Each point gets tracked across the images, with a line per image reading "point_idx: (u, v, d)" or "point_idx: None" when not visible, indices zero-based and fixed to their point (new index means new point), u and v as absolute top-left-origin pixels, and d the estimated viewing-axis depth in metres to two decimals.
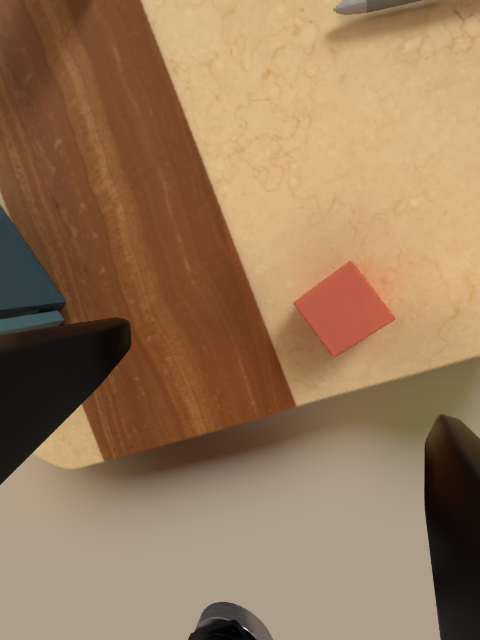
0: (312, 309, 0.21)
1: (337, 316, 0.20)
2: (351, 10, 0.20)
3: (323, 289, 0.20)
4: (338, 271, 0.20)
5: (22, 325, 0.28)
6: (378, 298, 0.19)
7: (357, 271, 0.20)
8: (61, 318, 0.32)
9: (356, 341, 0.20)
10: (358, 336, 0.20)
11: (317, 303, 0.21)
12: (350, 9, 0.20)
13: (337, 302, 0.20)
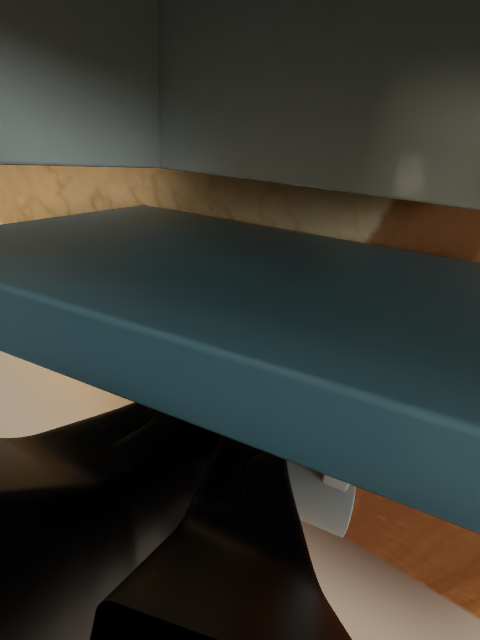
0: None
1: None
2: None
3: None
4: None
5: None
6: None
7: None
8: None
9: None
10: None
11: None
12: None
13: None
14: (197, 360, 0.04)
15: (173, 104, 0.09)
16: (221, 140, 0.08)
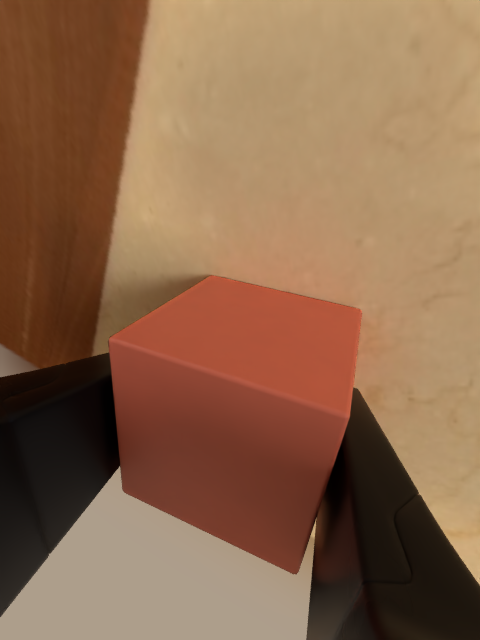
0: (144, 396, 0.06)
1: (187, 460, 0.06)
2: None
3: (205, 392, 0.06)
4: (285, 401, 0.05)
5: None
6: (307, 530, 0.06)
7: (331, 451, 0.05)
8: None
9: (185, 519, 0.07)
10: (196, 520, 0.07)
11: (165, 400, 0.06)
12: None
13: (211, 445, 0.06)
14: None
15: None
16: None
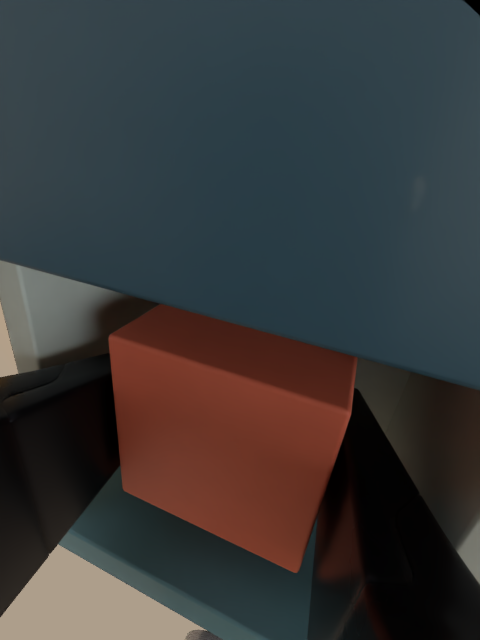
0: (144, 393, 0.06)
1: (187, 459, 0.06)
2: None
3: (206, 390, 0.06)
4: (286, 398, 0.05)
5: None
6: (308, 528, 0.06)
7: (333, 449, 0.05)
8: None
9: (185, 518, 0.07)
10: (196, 518, 0.07)
11: (165, 398, 0.06)
12: None
13: (210, 442, 0.06)
14: (205, 611, 0.08)
15: None
16: None
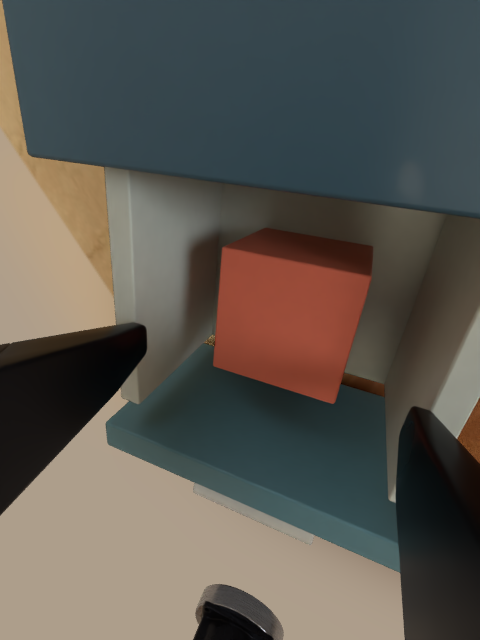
0: (241, 285, 0.10)
1: (266, 328, 0.10)
2: None
3: (285, 276, 0.09)
4: (334, 273, 0.09)
5: None
6: (343, 364, 0.10)
7: (360, 302, 0.09)
8: None
9: (259, 378, 0.11)
10: (266, 376, 0.11)
11: (256, 285, 0.10)
12: None
13: (284, 313, 0.10)
14: (251, 488, 0.11)
15: None
16: None
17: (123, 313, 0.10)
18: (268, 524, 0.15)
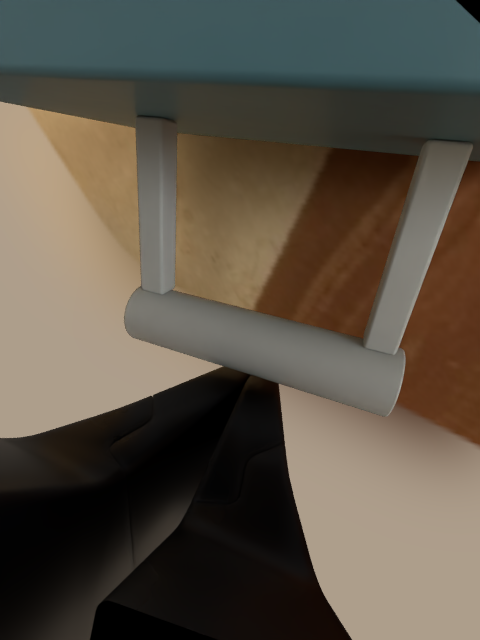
0: None
1: None
2: None
3: None
4: None
5: None
6: None
7: None
8: None
9: None
10: None
11: None
12: None
13: None
14: None
15: None
16: None
17: None
18: (286, 374, 0.06)
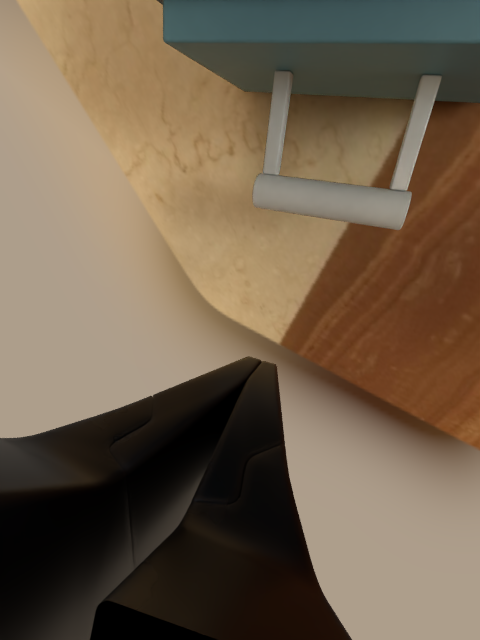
0: None
1: None
2: None
3: None
4: None
5: None
6: None
7: None
8: None
9: None
10: None
11: None
12: None
13: None
14: None
15: None
16: None
17: None
18: (349, 207, 0.12)
